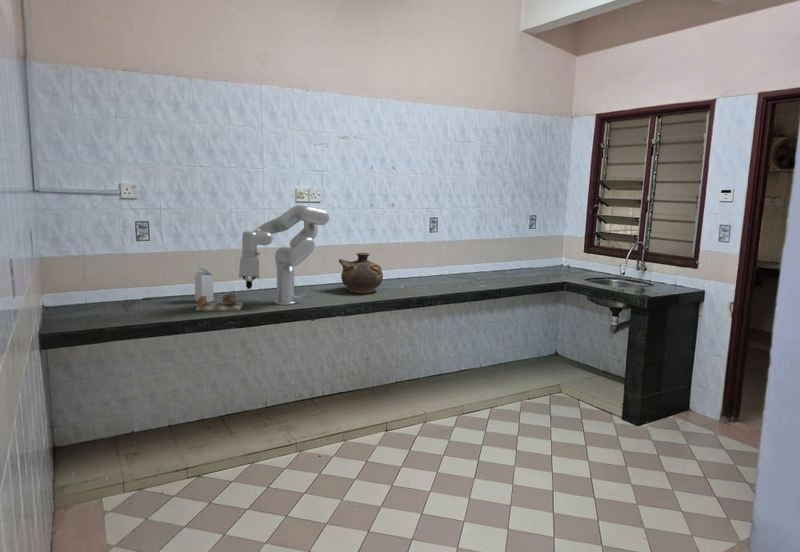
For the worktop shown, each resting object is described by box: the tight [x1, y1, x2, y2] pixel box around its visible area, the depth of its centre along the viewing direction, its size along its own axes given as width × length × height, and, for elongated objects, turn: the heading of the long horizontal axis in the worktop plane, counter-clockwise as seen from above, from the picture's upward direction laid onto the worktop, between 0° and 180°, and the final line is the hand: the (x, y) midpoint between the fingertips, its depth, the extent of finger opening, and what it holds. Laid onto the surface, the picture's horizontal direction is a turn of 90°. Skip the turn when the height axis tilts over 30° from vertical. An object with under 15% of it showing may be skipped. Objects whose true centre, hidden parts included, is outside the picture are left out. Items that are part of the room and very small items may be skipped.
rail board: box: [196, 296, 243, 311], centre depth 290 cm, size 22×11×6 cm, turn 100°
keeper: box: [222, 293, 237, 305], centre depth 291 cm, size 6×6×5 cm
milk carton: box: [194, 266, 214, 303], centre depth 304 cm, size 7×7×19 cm
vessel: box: [338, 252, 384, 294], centre depth 347 cm, size 27×28×25 cm
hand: (249, 288), depth 291 cm, fingers closed
